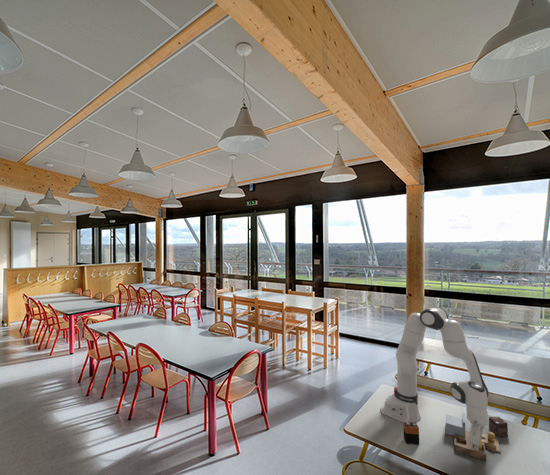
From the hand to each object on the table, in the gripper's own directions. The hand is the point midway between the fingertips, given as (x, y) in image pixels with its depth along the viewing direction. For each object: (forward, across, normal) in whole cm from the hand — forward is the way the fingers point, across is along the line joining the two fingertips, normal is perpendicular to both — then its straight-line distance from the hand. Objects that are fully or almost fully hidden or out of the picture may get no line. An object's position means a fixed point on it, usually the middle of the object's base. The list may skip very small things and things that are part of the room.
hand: (477, 444), depth 142 cm
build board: (+4, -1, +3) cm, 5 cm away
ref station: (+4, +9, +4) cm, 11 cm away
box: (+4, +24, -6) cm, 26 cm away
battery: (+4, -14, +28) cm, 31 cm away
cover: (+3, +8, +11) cm, 14 cm away
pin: (+3, 0, 0) cm, 3 cm away
